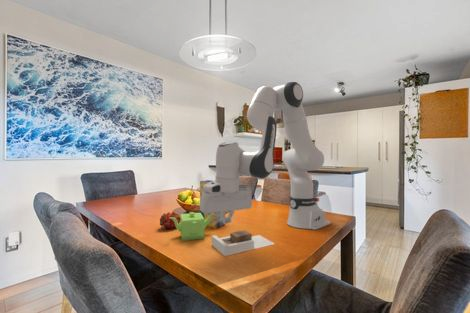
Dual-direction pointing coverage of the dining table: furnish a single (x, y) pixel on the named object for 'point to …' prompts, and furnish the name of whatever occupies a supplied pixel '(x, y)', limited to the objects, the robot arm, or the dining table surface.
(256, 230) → the dining table surface
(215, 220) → the beverage box
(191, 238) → the kettle
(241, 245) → the shallow white tray
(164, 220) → the dark red lumpy cluster
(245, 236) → the block
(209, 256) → the dining table surface
